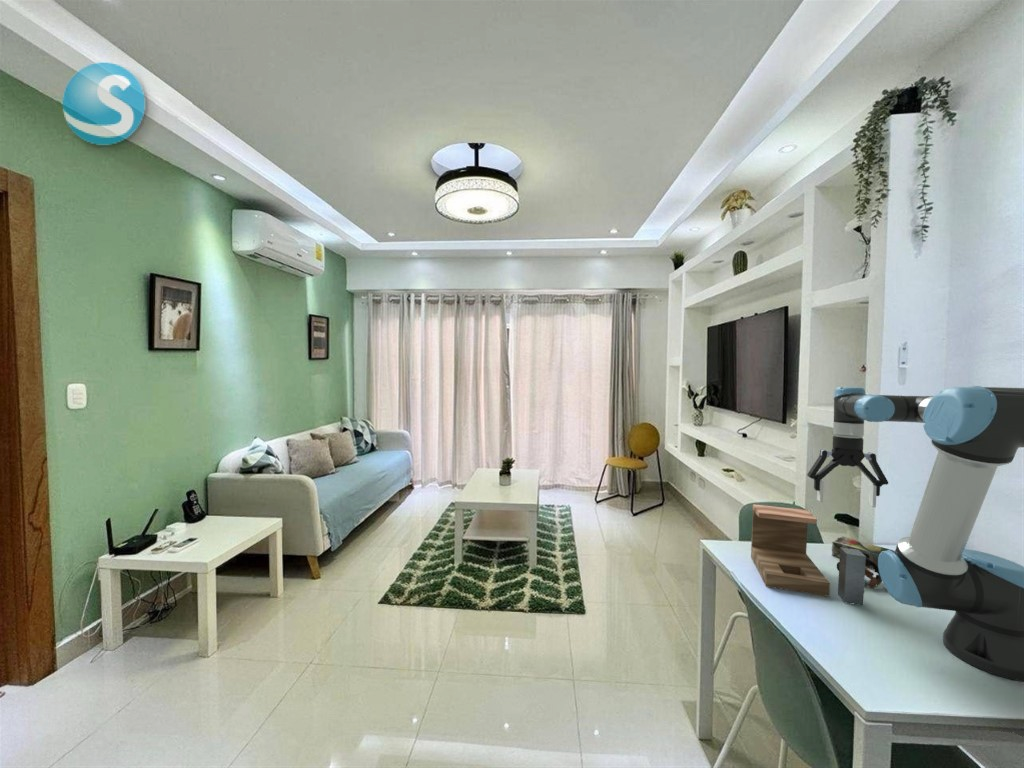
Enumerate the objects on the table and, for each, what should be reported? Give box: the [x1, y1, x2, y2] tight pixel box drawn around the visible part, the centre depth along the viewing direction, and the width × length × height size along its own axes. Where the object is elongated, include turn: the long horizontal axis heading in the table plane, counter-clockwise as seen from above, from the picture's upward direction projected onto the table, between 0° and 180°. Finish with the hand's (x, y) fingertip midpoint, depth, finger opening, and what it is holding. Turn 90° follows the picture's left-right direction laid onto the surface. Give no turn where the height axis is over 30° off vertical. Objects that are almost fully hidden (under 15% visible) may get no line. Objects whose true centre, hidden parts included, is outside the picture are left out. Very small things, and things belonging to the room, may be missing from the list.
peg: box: [837, 548, 866, 606], centre depth 119 cm, size 4×4×14 cm
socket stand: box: [750, 503, 831, 597], centre depth 133 cm, size 21×16×18 cm
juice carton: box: [831, 535, 894, 570], centre depth 143 cm, size 20×10×6 cm, turn 35°
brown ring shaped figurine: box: [836, 558, 883, 589], centre depth 130 cm, size 12×10×8 cm
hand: (845, 503), depth 132 cm, fingers open, 13 cm apart
